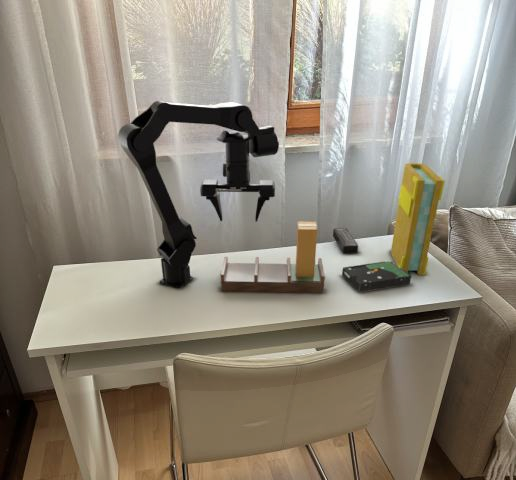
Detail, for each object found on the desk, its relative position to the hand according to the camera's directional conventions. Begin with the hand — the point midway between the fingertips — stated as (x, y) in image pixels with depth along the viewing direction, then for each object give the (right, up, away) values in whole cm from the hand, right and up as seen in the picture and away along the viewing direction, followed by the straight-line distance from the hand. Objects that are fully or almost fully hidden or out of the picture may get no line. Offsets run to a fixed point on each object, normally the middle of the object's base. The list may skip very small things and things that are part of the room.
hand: (238, 220), depth 131 cm
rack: (+9, -17, -1) cm, 19 cm away
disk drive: (+36, -16, 0) cm, 39 cm away
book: (+47, -9, +10) cm, 49 cm away
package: (+17, -14, -3) cm, 22 cm away
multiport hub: (+32, -2, +21) cm, 38 cm away
